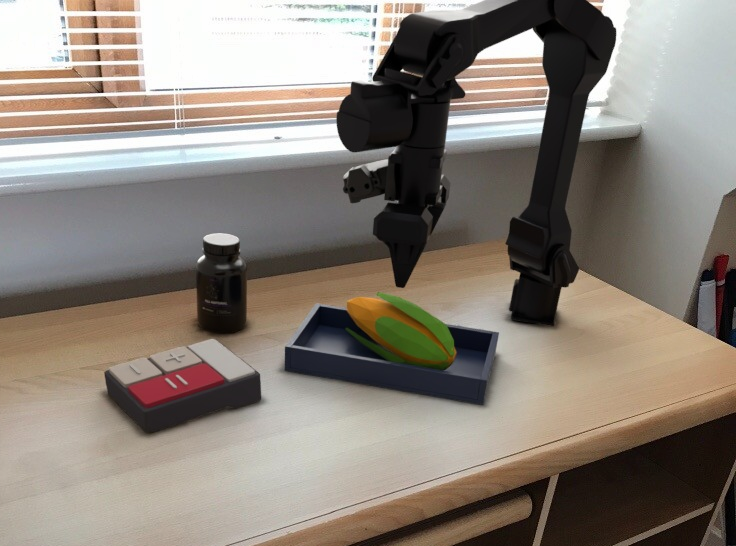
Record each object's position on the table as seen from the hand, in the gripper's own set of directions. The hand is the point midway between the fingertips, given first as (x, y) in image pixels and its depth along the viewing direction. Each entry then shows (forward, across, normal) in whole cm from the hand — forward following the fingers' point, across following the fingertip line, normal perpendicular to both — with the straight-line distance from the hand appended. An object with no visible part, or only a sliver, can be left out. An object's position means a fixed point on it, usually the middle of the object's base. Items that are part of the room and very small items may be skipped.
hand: (407, 273), depth 106 cm
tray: (+12, +2, 0) cm, 12 cm away
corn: (+11, +1, -1) cm, 11 cm away
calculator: (+12, +20, -22) cm, 32 cm away
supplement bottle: (+12, -2, -25) cm, 28 cm away
